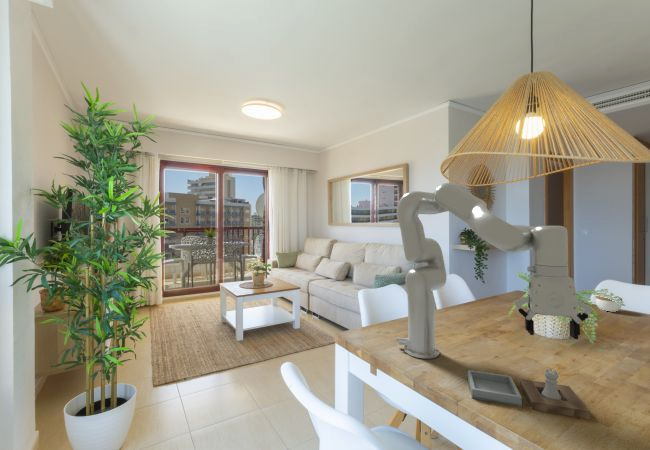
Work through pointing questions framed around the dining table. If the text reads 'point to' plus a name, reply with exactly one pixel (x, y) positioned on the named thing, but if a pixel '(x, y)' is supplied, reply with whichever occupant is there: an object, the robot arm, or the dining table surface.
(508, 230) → the robot arm
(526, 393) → the socket block
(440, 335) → the dining table surface
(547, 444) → the dining table surface
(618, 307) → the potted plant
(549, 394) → the rook chess piece
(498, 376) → the tray
